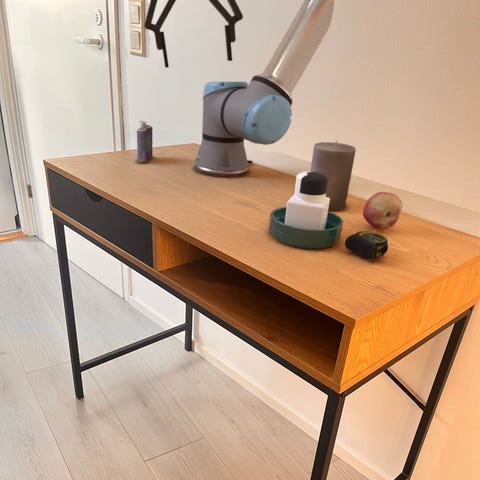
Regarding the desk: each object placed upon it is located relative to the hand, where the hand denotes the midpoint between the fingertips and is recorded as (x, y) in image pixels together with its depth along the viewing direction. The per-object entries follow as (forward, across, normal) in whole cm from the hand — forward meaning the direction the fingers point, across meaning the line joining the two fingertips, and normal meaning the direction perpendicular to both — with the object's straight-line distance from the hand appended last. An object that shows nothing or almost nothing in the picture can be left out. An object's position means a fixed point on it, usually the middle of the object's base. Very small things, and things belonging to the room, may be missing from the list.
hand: (198, 63), depth 105 cm
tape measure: (+32, +25, -38) cm, 56 cm away
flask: (+26, -17, +31) cm, 44 cm away
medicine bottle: (+30, +16, -28) cm, 44 cm away
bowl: (+30, +16, -28) cm, 44 cm away
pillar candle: (+33, +26, -7) cm, 43 cm away
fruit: (+34, +34, -23) cm, 53 cm away
